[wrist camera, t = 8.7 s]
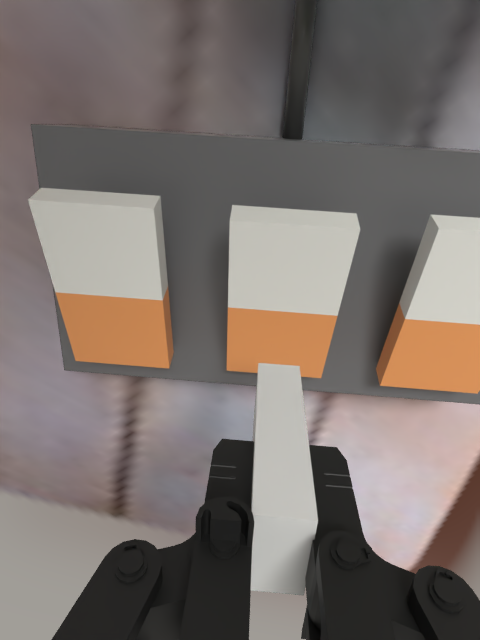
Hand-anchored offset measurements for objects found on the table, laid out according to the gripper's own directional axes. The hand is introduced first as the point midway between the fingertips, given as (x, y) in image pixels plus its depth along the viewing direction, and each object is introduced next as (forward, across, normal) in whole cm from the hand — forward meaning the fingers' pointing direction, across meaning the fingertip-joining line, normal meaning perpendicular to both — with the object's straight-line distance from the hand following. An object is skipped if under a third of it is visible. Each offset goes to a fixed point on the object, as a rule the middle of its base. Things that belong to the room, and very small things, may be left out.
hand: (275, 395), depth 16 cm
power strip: (+11, 0, +6) cm, 13 cm away
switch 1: (+6, -8, +2) cm, 10 cm away
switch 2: (+6, +8, +2) cm, 10 cm away
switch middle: (+6, 0, +2) cm, 7 cm away
